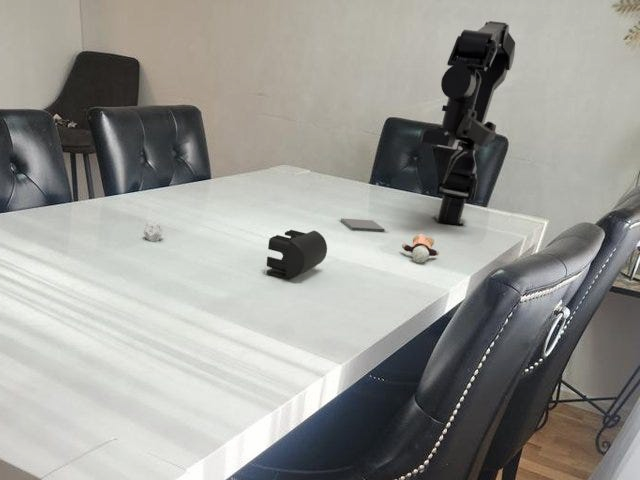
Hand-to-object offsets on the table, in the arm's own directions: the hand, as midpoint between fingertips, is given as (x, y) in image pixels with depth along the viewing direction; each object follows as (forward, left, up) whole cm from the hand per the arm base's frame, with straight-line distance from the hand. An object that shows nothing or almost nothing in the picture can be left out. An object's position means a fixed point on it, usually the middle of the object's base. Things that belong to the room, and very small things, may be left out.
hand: (441, 183), depth 144 cm
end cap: (+41, -31, -12) cm, 53 cm away
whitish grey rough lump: (+30, -58, -12) cm, 67 cm away
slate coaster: (-2, -15, -12) cm, 19 cm away
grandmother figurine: (+13, -4, -10) cm, 17 cm away
